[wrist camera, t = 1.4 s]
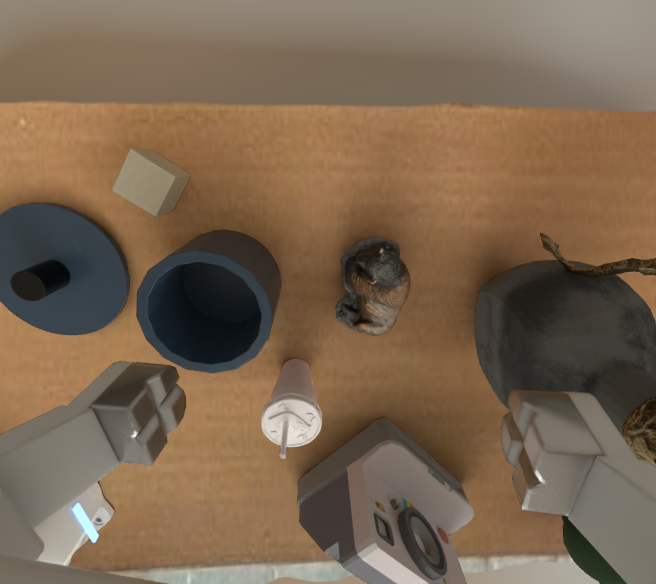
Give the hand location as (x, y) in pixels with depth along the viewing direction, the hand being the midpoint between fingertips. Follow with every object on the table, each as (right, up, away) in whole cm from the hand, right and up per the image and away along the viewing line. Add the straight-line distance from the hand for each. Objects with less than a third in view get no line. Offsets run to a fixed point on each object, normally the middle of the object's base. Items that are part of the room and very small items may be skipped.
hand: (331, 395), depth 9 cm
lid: (-30, +5, +31) cm, 43 cm away
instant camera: (+8, -26, +45) cm, 52 cm away
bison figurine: (+4, +4, +33) cm, 33 cm away
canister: (-12, +4, +32) cm, 34 cm away
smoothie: (-4, -8, +37) cm, 38 cm away
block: (-17, +14, +28) cm, 36 cm away
